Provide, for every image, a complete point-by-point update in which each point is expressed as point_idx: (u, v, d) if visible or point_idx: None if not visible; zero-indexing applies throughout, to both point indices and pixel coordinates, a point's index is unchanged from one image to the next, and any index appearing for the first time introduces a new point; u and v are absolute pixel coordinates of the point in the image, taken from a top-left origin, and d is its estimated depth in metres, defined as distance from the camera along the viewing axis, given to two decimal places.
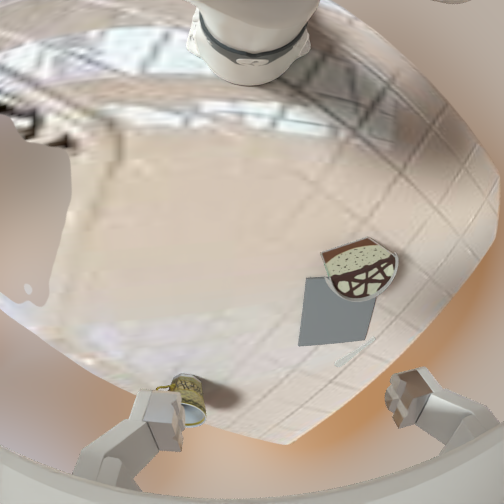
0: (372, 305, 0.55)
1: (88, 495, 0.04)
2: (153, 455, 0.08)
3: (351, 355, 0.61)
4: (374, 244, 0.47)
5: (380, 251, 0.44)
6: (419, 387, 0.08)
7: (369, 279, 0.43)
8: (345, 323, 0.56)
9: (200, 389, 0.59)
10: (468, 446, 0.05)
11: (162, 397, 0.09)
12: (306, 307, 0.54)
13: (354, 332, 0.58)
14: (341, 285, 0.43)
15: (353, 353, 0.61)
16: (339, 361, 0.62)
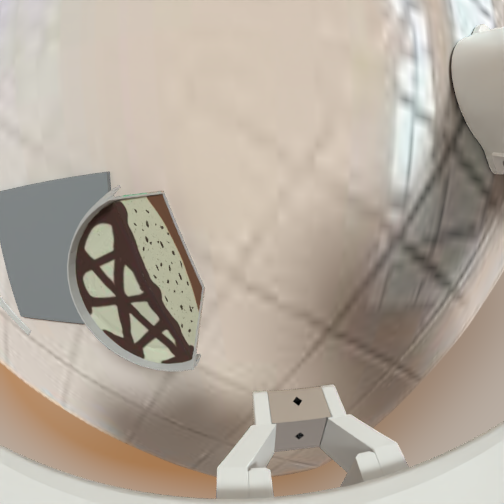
0: (75, 320, 0.26)
1: (88, 495, 0.04)
2: (270, 458, 0.08)
3: None
4: (197, 304, 0.23)
5: (191, 321, 0.20)
6: (315, 408, 0.08)
7: (125, 306, 0.16)
8: (36, 275, 0.25)
9: None
10: (468, 446, 0.05)
11: (281, 396, 0.09)
12: (53, 186, 0.22)
13: (26, 295, 0.25)
14: (101, 234, 0.15)
15: None
16: None
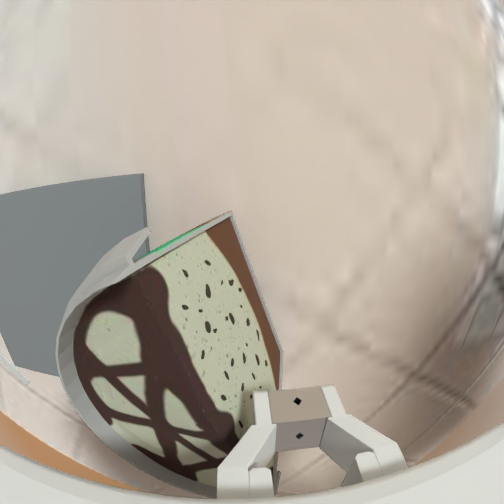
0: None
1: (88, 495, 0.04)
2: (270, 458, 0.08)
3: None
4: (276, 387, 0.15)
5: None
6: (315, 408, 0.08)
7: (169, 433, 0.09)
8: (32, 319, 0.17)
9: None
10: (468, 446, 0.05)
11: (281, 396, 0.09)
12: (52, 195, 0.14)
13: (20, 342, 0.17)
14: (114, 329, 0.07)
15: None
16: None
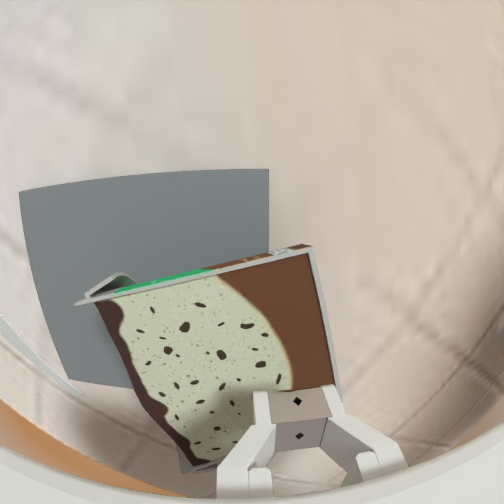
0: None
1: (88, 495, 0.04)
2: (270, 458, 0.08)
3: (22, 349, 0.18)
4: None
5: (233, 442, 0.13)
6: (315, 408, 0.08)
7: None
8: (103, 327, 0.17)
9: None
10: (468, 446, 0.05)
11: (281, 396, 0.09)
12: (153, 185, 0.15)
13: (82, 353, 0.18)
14: None
15: (29, 353, 0.18)
16: (2, 322, 0.17)
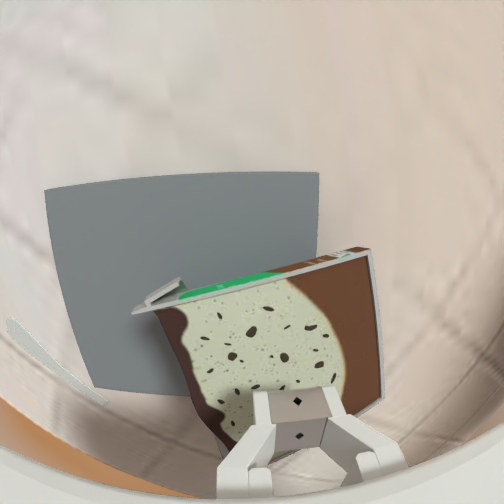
0: None
1: (88, 495, 0.04)
2: (270, 458, 0.08)
3: (42, 357, 0.18)
4: None
5: None
6: (315, 408, 0.08)
7: None
8: (139, 333, 0.17)
9: None
10: (468, 446, 0.05)
11: (281, 396, 0.09)
12: (202, 185, 0.15)
13: (112, 360, 0.18)
14: None
15: (49, 361, 0.18)
16: (19, 329, 0.17)
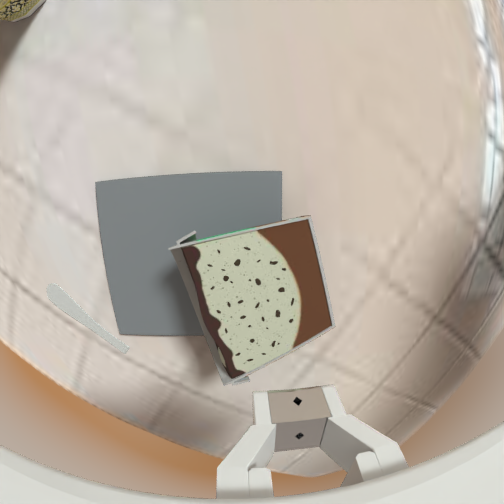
0: None
1: (88, 495, 0.04)
2: (270, 458, 0.08)
3: (76, 314, 0.26)
4: (297, 341, 0.22)
5: (262, 354, 0.21)
6: (315, 408, 0.08)
7: None
8: (160, 283, 0.25)
9: (19, 7, 0.13)
10: (468, 446, 0.05)
11: (281, 396, 0.09)
12: (207, 180, 0.23)
13: (137, 308, 0.26)
14: None
15: (82, 316, 0.26)
16: (59, 291, 0.25)
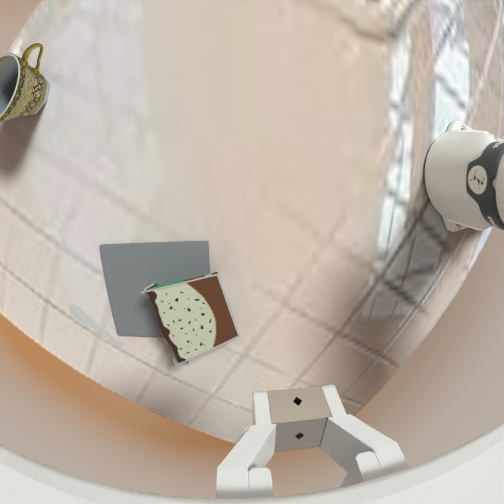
0: None
1: (88, 495, 0.04)
2: (270, 458, 0.08)
3: (89, 322, 0.42)
4: (216, 343, 0.38)
5: (195, 349, 0.37)
6: (315, 408, 0.08)
7: None
8: (141, 305, 0.41)
9: (27, 112, 0.28)
10: (468, 446, 0.05)
11: (281, 396, 0.09)
12: (164, 247, 0.39)
13: (128, 319, 0.42)
14: None
15: (94, 324, 0.42)
16: (78, 308, 0.41)
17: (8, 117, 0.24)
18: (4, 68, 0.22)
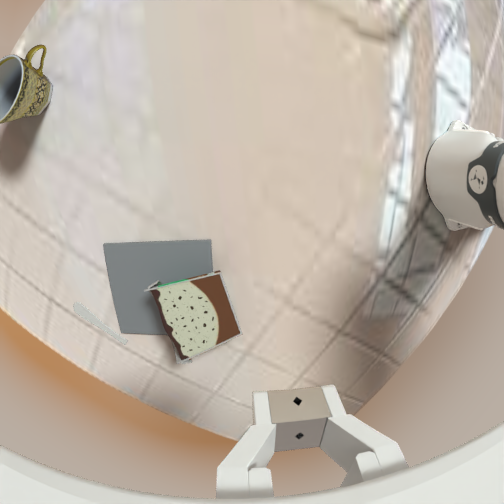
0: None
1: (88, 495, 0.04)
2: (270, 458, 0.08)
3: (93, 320, 0.43)
4: (218, 341, 0.38)
5: (197, 347, 0.38)
6: (315, 408, 0.08)
7: None
8: (144, 303, 0.42)
9: (31, 113, 0.29)
10: (468, 446, 0.05)
11: (281, 396, 0.09)
12: (167, 246, 0.39)
13: (131, 317, 0.42)
14: None
15: (97, 322, 0.43)
16: (81, 307, 0.42)
17: (12, 118, 0.25)
18: (7, 69, 0.23)
